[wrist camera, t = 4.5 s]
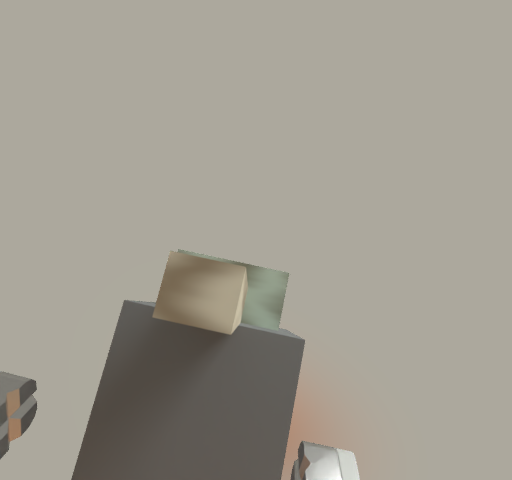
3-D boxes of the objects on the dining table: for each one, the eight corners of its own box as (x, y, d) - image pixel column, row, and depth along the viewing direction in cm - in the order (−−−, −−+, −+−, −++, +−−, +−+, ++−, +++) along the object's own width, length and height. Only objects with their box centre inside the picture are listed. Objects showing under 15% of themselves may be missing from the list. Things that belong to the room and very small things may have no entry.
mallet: (79, 301, 14) (114, 194, 15) (178, 306, 34) (190, 259, 35) (305, 351, 14) (324, 239, 15) (273, 327, 34) (282, 279, 35)
